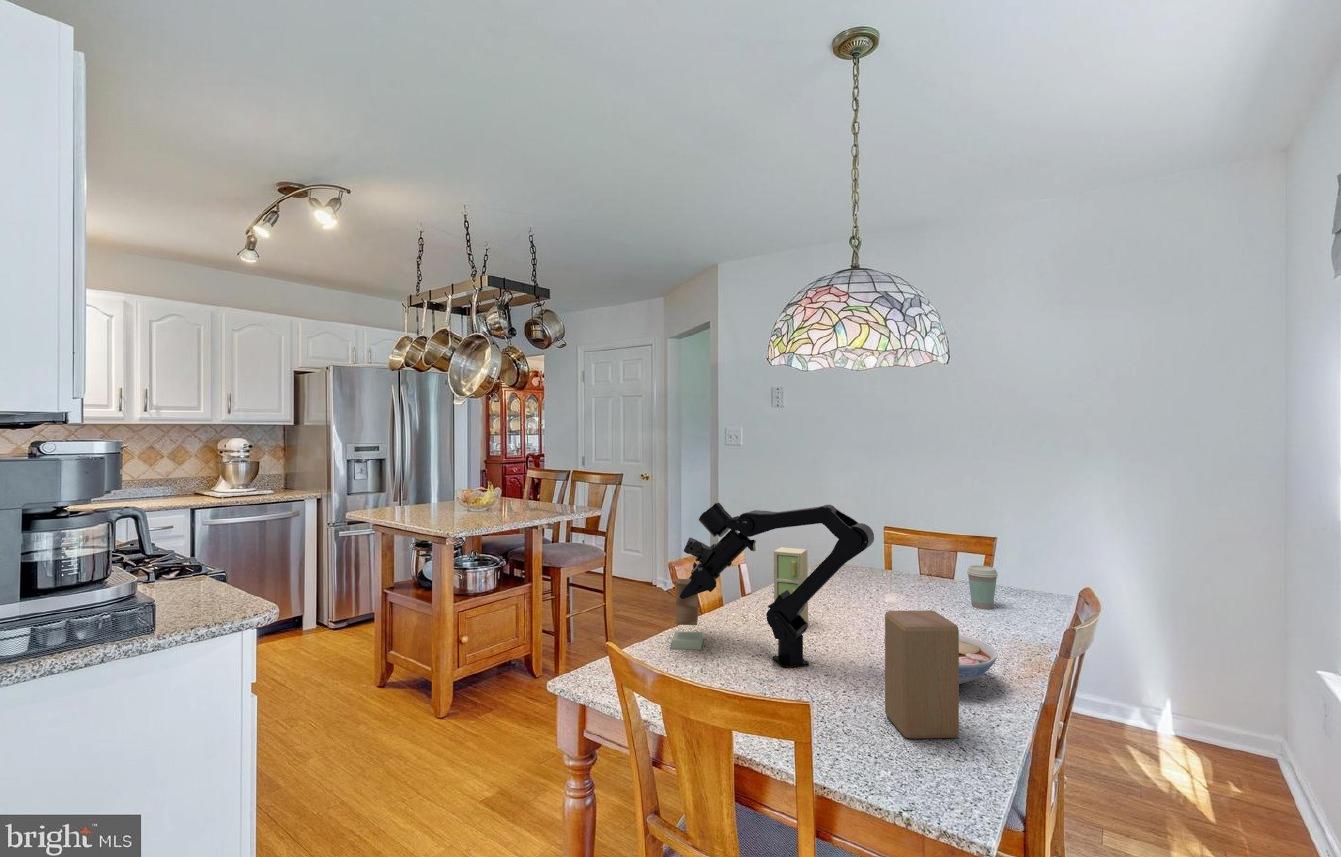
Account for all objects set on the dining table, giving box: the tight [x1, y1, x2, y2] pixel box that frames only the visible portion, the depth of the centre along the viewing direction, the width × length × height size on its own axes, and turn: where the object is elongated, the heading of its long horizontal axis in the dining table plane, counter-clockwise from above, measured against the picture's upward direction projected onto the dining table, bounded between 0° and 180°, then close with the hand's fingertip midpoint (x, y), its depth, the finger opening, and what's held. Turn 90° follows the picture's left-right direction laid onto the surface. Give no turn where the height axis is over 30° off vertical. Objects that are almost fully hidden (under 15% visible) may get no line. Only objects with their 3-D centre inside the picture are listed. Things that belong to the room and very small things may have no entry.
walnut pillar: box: [675, 578, 699, 626], centre depth 152 cm, size 5×5×10 cm
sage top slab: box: [671, 630, 704, 651], centre depth 152 cm, size 7×7×2 cm
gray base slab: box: [669, 638, 705, 651], centre depth 152 cm, size 8×8×2 cm
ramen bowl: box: [883, 633, 998, 685], centre depth 134 cm, size 25×23×8 cm
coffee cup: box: [966, 564, 999, 610], centre depth 191 cm, size 8×9×12 cm
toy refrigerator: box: [773, 546, 809, 624], centre depth 171 cm, size 8×7×21 cm
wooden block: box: [884, 609, 960, 739], centre depth 112 cm, size 10×10×20 cm
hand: (681, 594), depth 152 cm, fingers closed on walnut pillar, 5 cm apart
